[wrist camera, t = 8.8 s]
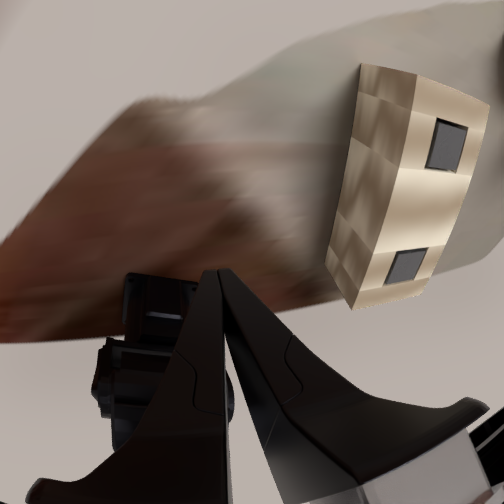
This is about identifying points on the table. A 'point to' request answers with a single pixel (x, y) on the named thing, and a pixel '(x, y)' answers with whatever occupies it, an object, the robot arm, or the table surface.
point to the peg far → (404, 265)
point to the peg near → (445, 145)
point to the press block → (399, 183)
